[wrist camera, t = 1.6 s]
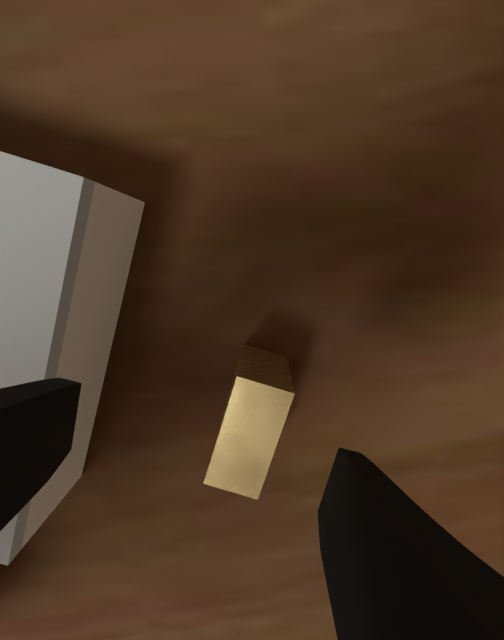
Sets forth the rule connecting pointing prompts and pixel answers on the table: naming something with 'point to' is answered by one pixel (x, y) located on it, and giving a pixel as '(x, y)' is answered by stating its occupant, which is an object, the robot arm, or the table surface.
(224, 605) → the table surface
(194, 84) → the table surface
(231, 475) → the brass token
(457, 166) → the table surface
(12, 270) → the coin box
